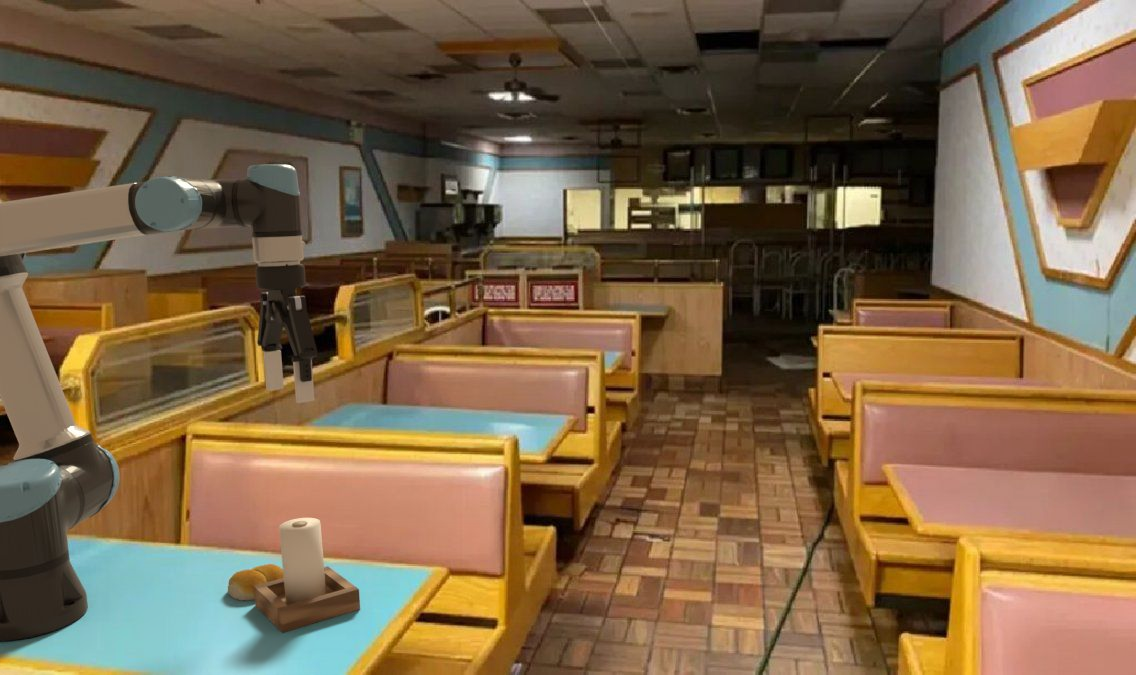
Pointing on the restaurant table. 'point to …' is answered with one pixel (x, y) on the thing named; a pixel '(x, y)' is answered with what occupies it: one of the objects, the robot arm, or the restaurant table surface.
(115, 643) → the restaurant table surface
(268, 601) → the tray
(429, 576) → the restaurant table surface
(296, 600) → the paper roll
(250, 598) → the bread roll
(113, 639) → the restaurant table surface
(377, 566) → the restaurant table surface
